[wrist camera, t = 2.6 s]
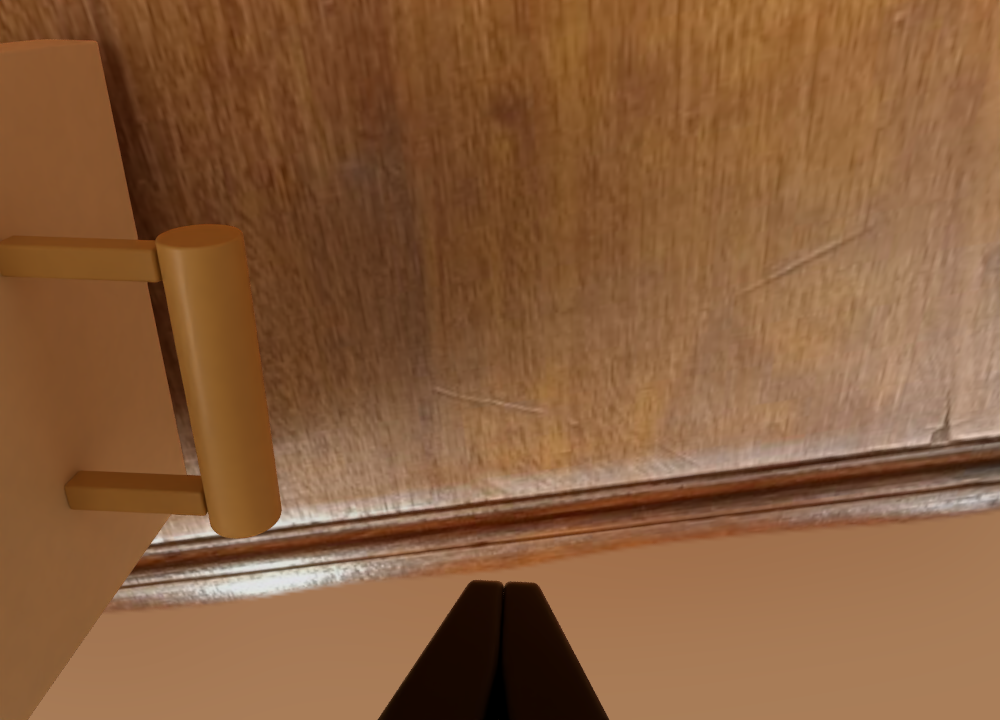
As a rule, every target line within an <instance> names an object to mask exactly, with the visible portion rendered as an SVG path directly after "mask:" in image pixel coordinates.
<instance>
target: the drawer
mask: <svg viewBox="0 0 1000 720" xmlns="http://www.w3.org/2000/svg"><path fill="white" fill-rule="evenodd" d="M161 280H163V285H164V290H165V295H166V300H167V305H168V310H169V315H170V320H171V326H172V331H173V336H174V341H175V346H176V351H177V356H178V361H179V366H180V371H181V377H182V382H183V387H184V392H185V397H186V402H187V407H188V412H189V417H190V422H191V428H192V433H193V438H194V443H195V448H196V453H197V458H198V463H199V468H200V473H201V476H196V475H187V473H186V468H185V463H184V459H183V454H182V449H181V444H180V439H179V434H178V430H177V425H176V420H175V415H174V410H173V405H172V400H171V396H170V391H169V386H168V381H167V376H166V371H165V367H164V362H163V357H162V352H161V347H160V342H159V337H158V333H157V328H156V323H155V318H154V313H153V308H152V304H151V299H150V294H149V289H148V284H147V282H159V281H161ZM281 511H282V509H281V501H280V494H279V487H278V480H277V473H276V465H275V458H274V451H273V444H272V437H271V430H270V422H269V415H268V408H267V401H266V394H265V387H264V379H263V372H262V365H261V358H260V351H259V344H258V337H257V329H256V322H255V315H254V308H253V301H252V294H251V286H250V279H249V272H248V265H247V258H246V251H245V244H244V236H243V233H242V231H241V230H240V229H238V228H236V227H233V226H228V225H221V224H198V225H189V226H183V227H178V228H174V229H171V230H168V231H166V232H163V233H161V234H160V235H158V236H157V237H156V240H138V236H137V231H136V226H135V221H134V216H133V212H132V207H131V202H130V197H129V192H128V187H127V182H126V178H125V173H124V168H123V163H122V158H121V153H120V149H119V144H118V139H117V134H116V129H115V124H114V120H113V115H112V110H111V105H110V100H109V95H108V90H107V86H106V81H105V76H104V71H103V66H102V61H101V57H100V52H99V47H98V43H97V41H94V40H56V39H39V40H29V41H19V42H9V43H0V720H28V719H29V717H30V716H31V714H32V713H33V711H34V710H35V709H36V707H37V706H38V704H39V703H40V701H41V700H42V699H43V697H44V696H45V694H46V693H47V691H48V690H49V689H50V687H51V686H52V684H53V683H54V681H55V680H56V678H57V677H58V676H59V674H60V673H61V671H62V670H63V669H64V667H65V666H66V664H67V663H68V661H69V660H70V658H71V657H72V656H73V654H74V653H75V651H76V650H77V648H78V647H79V646H80V644H81V643H82V641H83V640H84V638H85V637H86V636H87V634H88V633H89V631H90V630H91V628H92V627H93V625H94V624H95V623H96V621H97V620H98V618H99V617H100V615H101V614H102V613H103V611H104V610H105V608H106V607H107V605H108V604H109V603H110V601H111V600H112V598H113V597H114V595H115V594H116V593H117V591H118V590H119V588H120V587H121V585H122V584H123V583H124V581H125V580H126V578H127V577H128V575H129V574H130V573H131V571H132V570H133V568H134V567H135V565H136V564H137V562H138V561H139V560H140V558H141V557H142V555H143V554H144V552H145V551H146V550H147V548H148V547H149V545H150V544H151V542H152V541H153V540H154V538H155V537H156V535H157V534H158V532H159V531H160V530H161V528H162V527H163V525H164V524H165V522H166V521H167V520H168V518H169V517H170V515H171V514H176V515H198V516H204V515H206V514H207V512H208V514H209V519H210V524H211V527H212V529H213V530H214V531H215V532H216V533H217V534H219V535H221V536H223V537H227V538H234V539H239V538H248V537H252V536H255V535H258V534H261V533H263V532H265V531H267V530H268V529H270V528H271V527H272V526H273V525H275V524H276V522H277V521H278V520H279V518H280V515H281Z"/></svg>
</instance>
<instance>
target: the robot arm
mask: <svg viewBox="0 0 1000 720" xmlns="http://www.w3.org/2000/svg"><path fill="white" fill-rule="evenodd" d="M503 598H504V599H503ZM378 720H609V718H608V716H607V715H606V713H605V711H604V709H603V707H602V705H601V703H600V701H599V699H598V697H597V696H596V694H595V692H594V690H593V688H592V686H591V684H590V682H589V680H588V679H587V676H586V675H585V673H584V671H583V669H582V667H581V665H580V663H579V661H578V659H577V657H576V655H575V654H574V652H573V650H572V648H571V646H570V644H569V642H568V640H567V638H566V636H565V634H564V633H563V631H562V629H561V627H560V625H559V623H558V621H557V619H556V617H555V615H554V614H553V612H552V610H551V608H550V606H549V604H548V602H547V600H546V598H545V596H544V594H543V592H542V591H541V589H540V587H539V586H538V585H537V584H535V583H529V582H528V583H527V582H508V583H506V585H505V586H503V584H502V583H501V582H499V581H486V580H485V581H484V580H473V581H471V582H470V583H469V584H468V585H467V587H466V588H465V590H464V591H463V593H462V594H461V596H460V597H459V599H458V600H457V602H456V603H455V605H454V606H453V608H452V609H451V611H450V612H449V614H448V615H447V617H446V618H445V620H444V621H443V623H442V624H441V626H440V627H439V629H438V630H437V632H436V633H435V635H434V636H433V638H432V639H431V641H430V642H429V644H428V645H427V647H426V648H425V650H424V651H423V653H422V654H421V656H420V657H419V659H418V660H417V662H416V663H415V665H414V666H413V668H412V669H411V671H410V672H409V674H408V675H407V677H406V678H405V680H404V681H403V683H402V684H401V686H400V687H399V689H398V690H397V692H396V693H395V695H394V696H393V698H392V699H391V701H390V702H389V704H388V705H387V707H386V708H385V710H384V711H383V713H382V714H381V716H380V717H379V719H378Z"/></svg>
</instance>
